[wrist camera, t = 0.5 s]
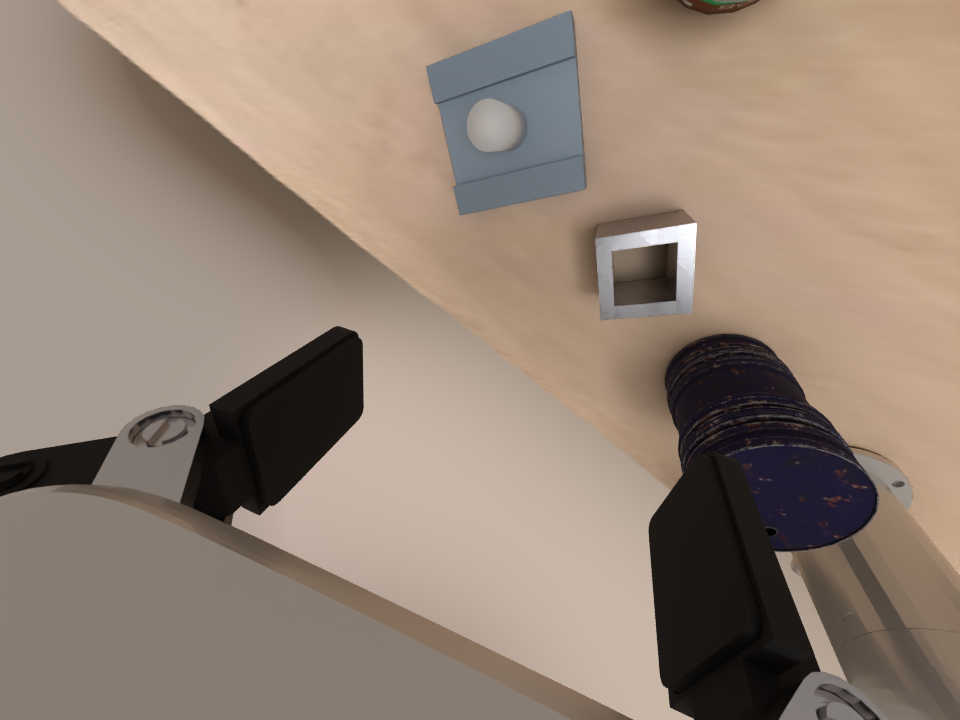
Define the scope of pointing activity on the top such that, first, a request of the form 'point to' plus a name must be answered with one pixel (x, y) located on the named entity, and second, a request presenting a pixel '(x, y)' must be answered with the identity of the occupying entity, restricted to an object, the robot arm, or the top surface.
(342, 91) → the top surface
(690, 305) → the grey hollow block
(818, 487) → the dark blue barrel
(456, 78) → the shaft block
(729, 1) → the food container
